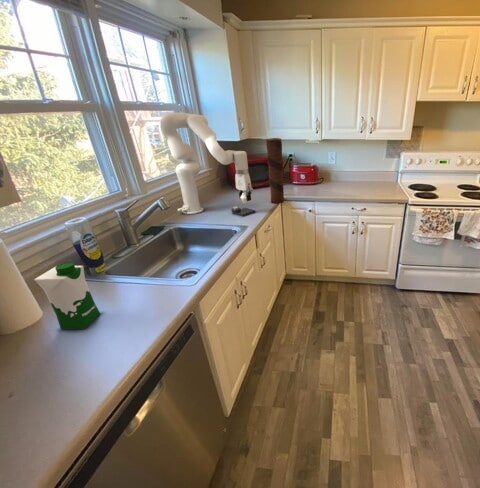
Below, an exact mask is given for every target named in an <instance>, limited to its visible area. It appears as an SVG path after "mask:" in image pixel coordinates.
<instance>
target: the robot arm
mask: <svg viewBox="0 0 480 488" xmlns="http://www.w3.org/2000/svg"><path fill="white" fill-rule="evenodd" d="M160 128H161V131H162V133H163V136H164V139H165V141H166V144H167V147H168V149H169V152H170V155H171V156H172V158H173V159H174V160H175V161H177V162H181V161H182V162H181V163H179V164H178V165H177V166H176V167H175V174H176V178H177V180H178V183H179V186H180V191H181V195H182V201H183V202H182V203H183V205H182V207H180V208H179V207H178V208H177V212H182V213H183V214H185V215H195V214H200V213H202V212H204V207H202V206H201V202H200V197H199V192H198V185H197V182H196V180H195V178H194V177H195V176H197V175H198V174H199V173H200V171H201V167H200V164H199V160H198V157H197V155H196V153H195V150H194V148H193V147H192V146H191V145H190V144H188V143H184V142H183V139H182V135H181V134H180V133H179V132H178V129H190V130H191V131H192V132H193V133H194V134H195V135H196V136H197V137H198V138H199V139H200V140H201V141H202V142H203V143H204V144H205V146H206V148H207V150H208V152H209V153H210V154H211V156H212V157H213V158H214V159H215V160H216V161H217V162H218V163H220V164H221V165H222V166H223V165H224V166H227V165H230V164H233V163H234V165H235V166H234V167H235V175H234V176H235V177H234V179H235V189H236V190H237V193H238V197H239V200H241V198H240V197H241V196H242V193H243V192H246V194H247V195H246V198H247V201H249V202H250V201H252V193H253V192H254V189H253V187H252V181H251V176H250V173H249V164H248V154H247V152H246V151H244V150H231V149H228V150H224V148H222V147H221V145H220V144H219V143H218V140H217V134H216V132H215V131H214V130H213V129H212V128H211V127H210V126H209V121H208V119H207V117H206V116H204V115H202V114H195V113H187V112H174V111H173V112H168V113H165V114H164V115H163V116H162V117H161V119H160Z"/></svg>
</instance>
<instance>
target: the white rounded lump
mask: <svg viewBox="0 0 480 488" xmlns="http://www.w3.org/2000/svg"><path fill="white" fill-rule="evenodd" d="M246 195H247V194H246V191H243V192H242V196H241V197H240V198H241V199H240V198H239V199H240V200H241V202H242V203H243V204H249V202H250V201H247V198H246Z"/></svg>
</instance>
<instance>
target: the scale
mask: <svg viewBox="0 0 480 488" xmlns="http://www.w3.org/2000/svg"><path fill="white" fill-rule="evenodd" d="M230 212H231V214H232V215H236V216H239V217H241V218H244V217H246V216H250V215H252V214H255V213H256V209H252V208H249V207H248V208H247V207H242V208H240V207H238V209H237V210H234V208H233V207H232V208H231V209H230Z"/></svg>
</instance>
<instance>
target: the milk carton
mask: <svg viewBox="0 0 480 488" xmlns="http://www.w3.org/2000/svg"><path fill="white" fill-rule="evenodd" d="M33 281H34V282H36V283H37V285H38V286H39V287H40V288H41V289H42V290H43V292H44V294H45V295H46V298H47V299H48V301H49V303H50V306H51V308H52V309H53V311H54V314H55V316H56V319H57V322H58V325H59V328H60V330H85V329H86V328H88V327H89V326H90V325H91V324H92V323H93V322H94V321H95V320H96V319H97V318H98V317H99V316H100V315H101V313H100V310H99V308H98V306H97V305H96V303H95V300H94V297H93V295H92V293H91V291H90V288H89V286H88V283H87V281H86V277H85V269H84V265H75V264H74V262H70V261H69V262H64V263H60V264H58V265H56V266H54V267H52V268H51V269H49V270H47V271H46V272H44V273H42V274H41V275H39V276H37V277H36V278H34V279H33Z"/></svg>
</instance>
